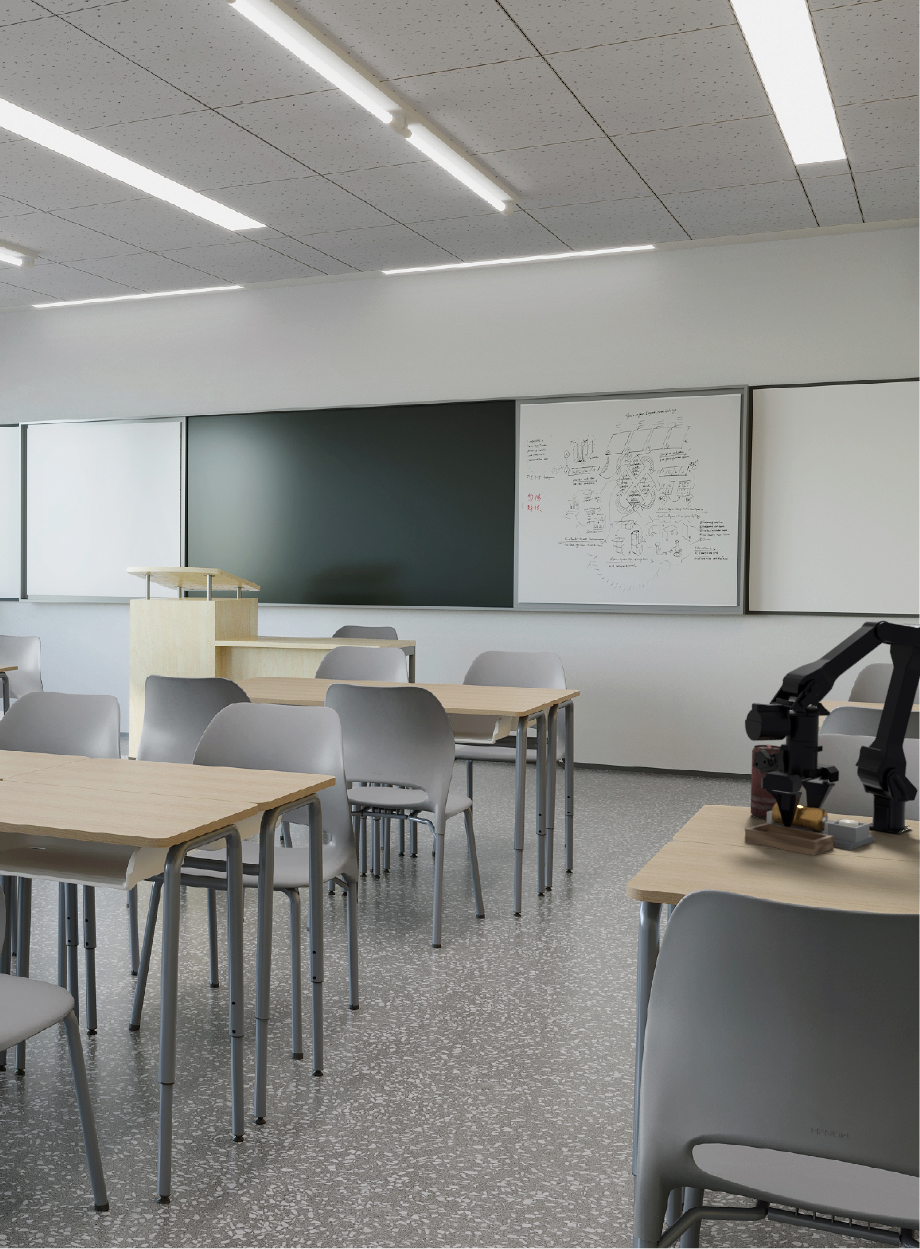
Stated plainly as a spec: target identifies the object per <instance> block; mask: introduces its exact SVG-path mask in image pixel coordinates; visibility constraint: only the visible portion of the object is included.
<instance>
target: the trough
mask: <svg viewBox="0 0 920 1249" xmlns="http://www.w3.org/2000/svg"><path fill="white" fill-rule="evenodd" d="M744 832H745V834H744V841H745V842H747V843H753V844H757V845H762V846H767V847H771V848H776V849H781V850H786V851H791V852H795V853H801V854H805V855H809V856H816V855H818V854H821V853H825V852H827V851H829V850H832V849H834V846H833V839H834V836H831V835H826V834H821V833H815V832H810V831H805V830H800V829H795V828H790V827H784V826H779V825H774V824H769V823H767V822H765V823H762V824H761V823H760V824H758V825H754V826H750V827H747V828H745V830H744Z"/></svg>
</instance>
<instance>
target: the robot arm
mask: <svg viewBox="0 0 920 1249" xmlns="http://www.w3.org/2000/svg"><path fill="white" fill-rule="evenodd" d="M882 644H884V645H889V654H890V658H891V661H892V666H893V668H892V673H891V675H890V681H889V684H888V687H887V688H888V689H887V693H886V696H885V700H884V704H883V708H882V712H881V715H880V720H879V723H878V728H877V730H876V731H877V732H876V734H875V738H874V740H873V742H872V743H871V744H869V746H866V745H862V746H861V747H860V749H859V753H858V754H859V756H858V760H857V761H856V763H855V765H854V766H855V767H857V769H856V770H857V771H856V775H857V777H858V778H859V780H860V782H861V783H862V786H863V789H864V792H865V793H866V794H871V795H872V799H873V800H872V819H871V820H872V821H871V822H870V823H868V824H869V830H870V829H871V830H876V831H880V832H888V833H891V834H901V832H902V831H903V830H906V829H908V828H907V827H908V826H909V825H908V826H905V825H906V808H907V807H906V803H907V802H911V801H915V799H916V796H917V794H918V789H917V788H916V786H915V785H914V784H913V783H912V782H911V780H909V778H908V777H907V776H906V774H907V759H906V754H905V751H904V742H905V739H906V738H905V737H906V734H907V730H908V726H909V722H910V718H911V715H912V710H913V707H914V704H915V698H916V695H917V691H918V686H919V683H920V623H919V624H916V623H901V624H896V623H893V622H888V621H887V620H879V619H870V620H869V619H868V620H867V621H865V622H864V623H863V624H862V625H861V627H860V628H858V629H857V630H856V631H854V632H853V633H852V634H850V635H849V636H848V637H847V638H845V639H844V640H842V641H841V642H840V643H838V644H837V645H836V646H834V648H832V649H831V650H830V651H828V652H826V654H824V655H822V657H820V658H818V659H817V660H815V661H812V662H810V663H806V664H804V665H801V666H799V667H797V668H795V669H793V670H791V671H789V672H788V673H786V675H784V676H783V678H782V684H781V686H780V687H779V688H778V690H777V691H776V693H775V695H774V696H773V697H772V698H771V700H770V701H769V703H759V702H753V703H752V704H751V710H749V711H748V713H747V715H746V718H745V720H744V728H745V733H746V735H747V738H749V740H751V741H753V742H755V741H760V742H762V741H782V740H783V741H784V740H785V743H782V744H781V745H780V751H779V752H778V753H774V754H770V755H769V754H768V753H767V751H760V752H756V753H754V759H753V760H754V763H753V767H755V768H756V769H758V770H759V774H764V773H765V772H767V773H766V774H765V775H764V776H762V777H761V788H764V789H765V790H766V792H768V793H770V794H771V795H772V796H773V797H774V798H775V799H776V802H777V804H778V807H779V811H780V814H781V818H782V821H783V824H784V827H791V825H792V822H793V819H794V816H795V813H796V810H797V807H798V805H800V800H801V797H802V795H803V792H802V791H801V790H802V788H804V789H805V796H806V806H807V807H813V808H819V809H822V807H823V805H824V803H825V801H826V800H827V798H828V796H829V795H830V793H831V791H832V789H833V788H834V787H835V786H836V782H839V781H840V779H839V778H840V771H839V769H838V768H837V767H836V766H835V765H833V764H832V765H831V764H823V763H819V762H818V760H819V759H818V758H819V753H820V752H823V748H824V747H823V745H820V744H819V736H820V735H819V733H820V732H819V730H820V728H819V727H820V716H821V717H823V716H824V717H825V716H828V717H830V715H831V712H830V710H828V709H827V708H826V707H825V706H824V705H823V703H822V700H824V699H825V697H826V696H828V694H829V693H830V692H831V691H832V689H833V688H834V685H835V682H836V680H838V678H840V677H841V676H842V675H843V674H844V673H846V672H847V671H849V669H851V668H852V667H853V666H854V665H856V664H857V663H858V662H860V661H861V660H862V659H864V658H865V657H866V656H867V655H869V654H870V653H871V652H873V651H874V650H875V649H877V648H878V647H879V646H881V645H882ZM777 769H778V771H777ZM773 771H774V772H773ZM768 772H769V773H768ZM902 833H903V832H902Z"/></svg>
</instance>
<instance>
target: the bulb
mask: <svg viewBox="0 0 920 1249" xmlns="http://www.w3.org/2000/svg"><path fill="white" fill-rule="evenodd" d="M838 820H839V819H838ZM858 822H859V821H857V820H852V819H845V820H839V824H840V825H845V826H851V827H857V826H858Z"/></svg>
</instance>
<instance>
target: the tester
mask: <svg viewBox="0 0 920 1249" xmlns="http://www.w3.org/2000/svg"><path fill="white" fill-rule="evenodd" d="M839 820H846V819H844V818H839V819H837V820H828V821H827V822H825V830H824V831H816V830H814V829H811V828H805V827H800V826H795V825H791V827H790V828H795V829H800V830H805V831H810V832H815V833H821V834H826V835H831V836H834V839H833V848H840V849H843V850H844V849H845V850H849V851H851V850H854V849H857V848H860V847H863V846H866V845H869V844H871V843H873V842H875V841H874V835H871V834H870V828H869V824H870V823H868V822H867V823H866V822H860V821H857V822H858V826H857V827H851V826H845V825H840V824H839ZM766 823H769V824H774V825H779V826H784V824H783V823H775V822H774V821H773V818H772V810H771V811H768V812H767V819H766Z"/></svg>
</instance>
